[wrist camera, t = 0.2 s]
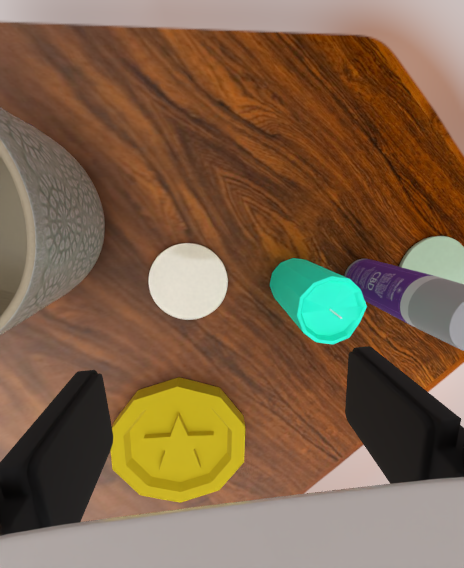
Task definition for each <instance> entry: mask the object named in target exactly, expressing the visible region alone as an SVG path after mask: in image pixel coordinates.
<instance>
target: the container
mask: <svg viewBox="0 0 464 568" xmlns="http://www.w3.org/2000/svg"><path fill="white" fill-rule="evenodd" d="M344 277H346V278H349V279H351V280H352V281H353V282H354V283H355V284H356V285H357V286H358V287H359V288H360V289H361V291H362V294H363V297H364V300H365V301H366V302H368V303H370V304H372V305H374V306H376V307H378V308H379V309H381V310H383V311H385V312H387V313H389V314H391V315H393V316H394V317H396V318H398V319H400V320H402V321H404V322H406V323H408V324H410V325H412V326H414V327H416V328H418V329H420V330H422V331H424V332H426V333H428V334H430V335H432V336H434V337H436V338H438V339H440V340H442V341H445V342H447V343H449V344H451V345H453V346H455V347H457V348H459V349H461V350H463V351H464V284H461V283H458V282H454V281H451V280H447V279H444V278H440V277H437V276H433V275H430V274H426V273H422V272H418V271H414V270H410V269H406V268H402V267H398V266H394V265H390V264H386V263H382V262H378V261H374V260H370V259H359V260H357V261H355V262H353V263H352V264H351V265H350V266H349V267H348V268H347V270H346V272H345V275H344Z"/></svg>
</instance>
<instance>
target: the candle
mask: <svg viewBox="0 0 464 568" xmlns="http://www.w3.org/2000/svg"><path fill="white" fill-rule="evenodd" d="M270 288H271V291H272V294H273V296H274V298H275V299H276V300H277V302H278V303H279V304H280V305H281V306H282V308H283V309H284V310H285V311H286V312H287V314H288V315H289V316H290V317H291V318H292V320H293V321H294V322H295V323H296V324H297V326H298V327H299V328H300V329H301V331H302V332H303V333H304V334H306V335H307V336H308V337H310V338H311V339H312V340H314V341H315V342H318V343H326V344H335V343H338V342H340V341H342V340H345V339H347V338H349V337H350V336H351V335H352V333H353V332H354V330H355V329H356V327H357V326H358V325H359V323H360V321H361V319H362V317H363V314H364V312H365V310H366V307H367V306H366V303H365V300H364V297H363V294H362V291H361V289H360V288H359V287H358V286H357V285H356V284H355V283H354V282H353V281H352V280H351V279H349V278H346V277H344V276H342V275H340V274H337V273H335V272H333V271H330V270H328V269H326V268H323V267H321V266H319V265H316V264H314V263H312V262H310V261H307V260H304V259H297V258H291V259H289V260H286V261H284V262H281V263H280V264H279V265H278V266H277V268H276V269H275V270H274V271H273V272H272V276H271V281H270Z"/></svg>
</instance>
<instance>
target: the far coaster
mask: <svg viewBox="0 0 464 568" xmlns="http://www.w3.org/2000/svg"><path fill="white" fill-rule="evenodd" d="M399 267H402V268H406V269H410V270H414V271H418V272H422V273H426V274H430V275H433V276H437V277H440V278H444V279H447V280H451V281H454V282H458V283H461V284H464V247H463V246H462V245H461V244H460V243H459V242H458V241H456V240H455V239H453V238H450V237H446V236H432V237H428V238H425V239H423V240H421V241H419V242H418V243H416V244H415V245H413V246H412V247H411V248H410V249H409V250H408V251H407V253H406V254H405V255H404V257H403V259H402V261H401V263H400V265H399Z"/></svg>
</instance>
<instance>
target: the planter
mask: <svg viewBox="0 0 464 568" xmlns="http://www.w3.org/2000/svg"><path fill="white" fill-rule="evenodd" d="M104 232H105V222H104V213H103V208H102V204H101V201H100V198H99V195H98V193H97V191H96V188H95V186H94V184H93V183H92V181H91V179H90V178H89V176H88V174H87V173H86V172H85V170H84V169H83V167H82V166H81V165H80V164H79V163H78V161H77V160H76V159H75V158H74V157H73V156H72V155H71V154H70V153H69V152H68V151H67V150H65V149H64V148H63V147H62V146H61V145H59V144H58V143H57V142H55V141H54V140H53V139H51V138H50V137H48V136H47V135H46V134H44V133H43V132H41V131H40V130H38V129H37V128H35V127H33V126H31V125H30V124H28V123H26V122H24V121H23V120H21V119H19V118H17V117H16V116H14V115H12V114H11V113H9V112H7V111H5V110H4V109H2V108H1V107H0V335H1V334H3V333H5V332H6V331H8V330H9V329H11V328H13V327H14V326H16V325H18V324H19V323H21V322H22V321H24V320H26V319H27V318H29V317H30V316H32V315H34V314H35V313H37V312H38V311H40V310H41V309H43V308H44V307H46V306H48V305H49V304H51V303H52V302H54V301H56V300H57V299H59V298H61V297H62V296H64V295H65V294H67V293H68V292H69V291H71V290H72V289H73V288H74V287H76V286H77V285H78V284H79V283H80V282H81V281H82V280H83V279H84V278H85V277H86V276H87V275H88V273H89V272H90V271H91V269H92V268H93V266H94V265H95V263H96V261H97V259H98V257H99V254H100V252H101V249H102V245H103V240H104Z"/></svg>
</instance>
